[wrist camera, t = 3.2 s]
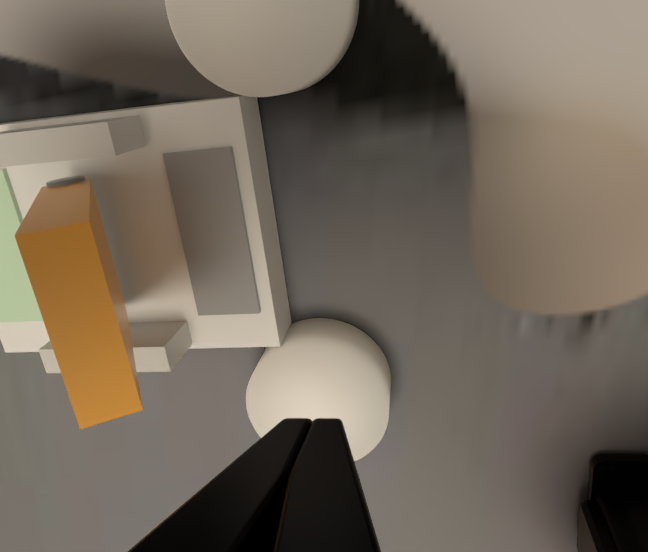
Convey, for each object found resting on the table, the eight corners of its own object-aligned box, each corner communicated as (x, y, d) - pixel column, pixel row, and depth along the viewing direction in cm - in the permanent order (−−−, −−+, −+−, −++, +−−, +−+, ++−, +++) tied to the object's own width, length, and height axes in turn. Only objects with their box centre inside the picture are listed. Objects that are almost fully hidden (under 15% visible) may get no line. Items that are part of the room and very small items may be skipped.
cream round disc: (345, -116, 16) (332, -145, 14) (370, 79, 18) (362, 80, 16) (177, -72, 17) (141, -93, 15) (216, 105, 19) (189, 110, 17)
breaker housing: (256, 92, 19) (216, 101, 15) (291, 322, 22) (265, 375, 18) (-34, 127, 21) (-129, 142, 17) (36, 330, 24) (-32, 378, 21)
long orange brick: (89, 173, 18) (88, 216, 12) (126, 309, 20) (143, 413, 14) (42, 181, 18) (13, 231, 11) (84, 319, 20) (81, 432, 13)
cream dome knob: (378, 308, 21) (374, 336, 19) (401, 424, 23) (400, 462, 21) (247, 325, 23) (229, 353, 20) (278, 434, 24) (265, 471, 22)
